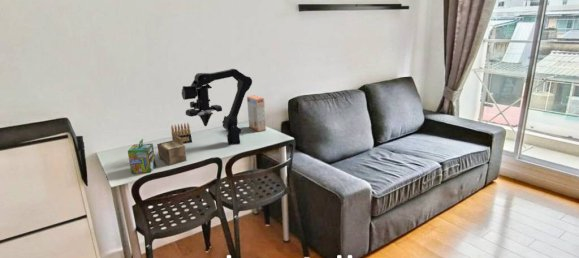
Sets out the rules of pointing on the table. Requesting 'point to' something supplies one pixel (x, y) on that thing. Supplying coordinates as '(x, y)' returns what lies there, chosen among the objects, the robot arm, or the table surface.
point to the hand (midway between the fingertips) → (205, 126)
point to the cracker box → (256, 113)
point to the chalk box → (141, 158)
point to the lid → (174, 142)
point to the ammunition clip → (182, 133)
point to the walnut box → (171, 154)
